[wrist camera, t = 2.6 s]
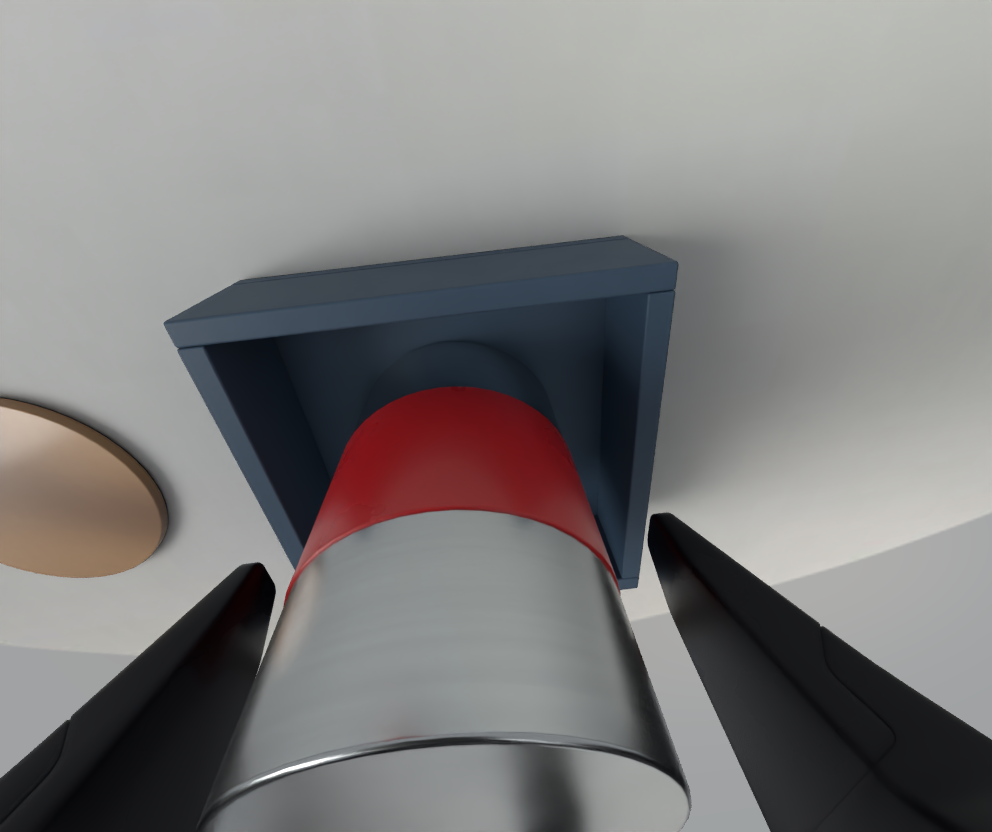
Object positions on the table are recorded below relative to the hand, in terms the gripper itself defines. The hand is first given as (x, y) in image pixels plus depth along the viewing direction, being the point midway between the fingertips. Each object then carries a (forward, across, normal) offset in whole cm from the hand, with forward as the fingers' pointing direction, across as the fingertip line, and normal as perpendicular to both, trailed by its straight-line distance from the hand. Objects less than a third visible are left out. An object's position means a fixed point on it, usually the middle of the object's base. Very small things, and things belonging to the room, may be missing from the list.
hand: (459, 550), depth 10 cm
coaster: (+6, +15, +1) cm, 16 cm away
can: (+5, 0, 0) cm, 5 cm away
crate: (+6, 0, 0) cm, 6 cm away
